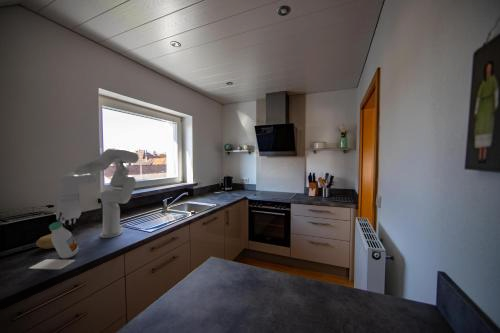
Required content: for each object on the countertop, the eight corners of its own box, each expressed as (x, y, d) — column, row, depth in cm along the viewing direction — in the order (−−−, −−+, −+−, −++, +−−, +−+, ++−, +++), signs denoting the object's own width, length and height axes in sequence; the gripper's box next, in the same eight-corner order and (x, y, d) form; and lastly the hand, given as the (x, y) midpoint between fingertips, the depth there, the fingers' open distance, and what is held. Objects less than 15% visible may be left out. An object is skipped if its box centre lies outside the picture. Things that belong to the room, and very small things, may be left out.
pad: (46, 260, 100) (46, 259, 100) (75, 260, 100) (75, 259, 100) (28, 268, 92) (28, 268, 92) (60, 269, 93) (60, 268, 92)
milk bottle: (68, 260, 101) (52, 231, 92) (56, 257, 102) (39, 228, 94) (82, 248, 108) (69, 220, 99) (71, 246, 109) (57, 218, 101)
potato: (32, 250, 110) (32, 236, 110) (65, 241, 122) (64, 228, 122) (39, 254, 106) (39, 240, 105) (72, 244, 118) (72, 231, 118)
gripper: (75, 194, 111) (75, 226, 112) (48, 200, 96) (48, 236, 97) (88, 195, 112) (88, 226, 112) (63, 200, 97) (63, 237, 97)
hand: (69, 231), depth 105 cm, fingers closed
